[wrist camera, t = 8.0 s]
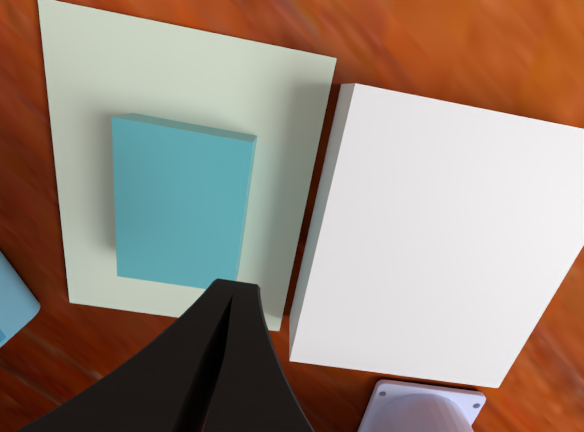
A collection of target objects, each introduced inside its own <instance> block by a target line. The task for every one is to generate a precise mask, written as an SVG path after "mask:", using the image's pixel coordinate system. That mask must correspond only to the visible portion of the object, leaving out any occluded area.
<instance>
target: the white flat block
mask: <svg viewBox="0 0 584 432" xmlns="http://www.w3.org/2000/svg"><path fill="white" fill-rule="evenodd" d="M583 245H584V129H582V128H577V127H572V126H567V125H562V124H557V123H552V122H547V121H542V120H537V119H532V118H527V117H522V116H517V115H512V114H507V113H502V112H497V111H492V110H487V109H482V108H477V107H472V106H467V105H462V104H457V103H452V102H447V101H442V100H437V99H432V98H426V97H421V96H416V95H411V94H406V93H401V92H396V91H391V90H386V89H381V88H376V87H371V86H366V85H361V84H356V83H351V84H341V87H340V92H339V96H338V101H337V105H336V110H335V114H334V119H333V123H332V128H331V132H330V137H329V141H328V146H327V150H326V155H325V159H324V164H323V168H322V173H321V177H320V182H319V186H318V191H317V195H316V200H315V204H314V209H313V213H312V218H311V222H310V227H309V231H308V236H307V240H306V245H305V249H304V254H303V258H302V263H301V267H300V272H299V276H298V281H297V285H296V290H295V294H294V299H293V303H292V308H291V312H290V317H289V361H294V362H301V363H309V364H317V365H324V366H332V367H340V368H347V369H355V370H363V371H370V372H378V373H385V374H393V375H401V376H408V377H416V378H424V379H431V380H439V381H447V382H454V383H462V384H470V385H477V386H485V387H493V388H498V387H499V386H500V384H501V382H502V381H503V379H504V377H505V376H506V374H507V372H508V371H509V369H510V367H511V366H512V364H513V362H514V361H515V359H516V357H517V356H518V354H519V352H520V351H521V349H522V347H523V346H524V344H525V342H526V341H527V339H528V337H529V336H530V334H531V332H532V331H533V329H534V327H535V326H536V324H537V322H538V320H539V319H540V317H541V315H542V314H543V312H544V310H545V309H546V307H547V305H548V304H549V302H550V300H551V299H552V297H553V295H554V294H555V292H556V290H557V289H558V287H559V285H560V284H561V282H562V280H563V279H564V277H565V275H566V274H567V272H568V270H569V269H570V267H571V265H572V264H573V262H574V260H575V259H576V257H577V255H578V254H579V252H580V250H581V249H582V247H583Z"/></svg>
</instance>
